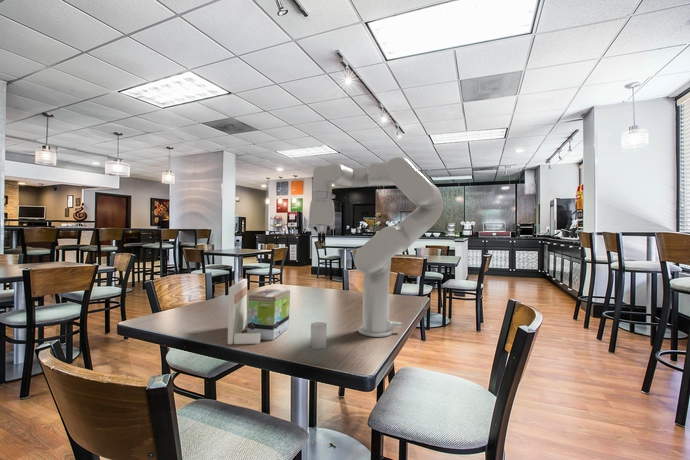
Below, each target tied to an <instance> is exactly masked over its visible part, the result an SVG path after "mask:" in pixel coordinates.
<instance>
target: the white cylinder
mask: <svg viewBox="0 0 690 460" xmlns="http://www.w3.org/2000/svg"><path fill="white" fill-rule="evenodd" d="M310 348H311V349H315V350H322V349H325V348H327V323H326V322H321V321H318V322H317V321H316V322H315V321H314V322H312V323H311V324H310Z"/></svg>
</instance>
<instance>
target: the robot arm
mask: <svg viewBox="0 0 690 460" xmlns="http://www.w3.org/2000/svg"><path fill="white" fill-rule="evenodd" d="M312 175H313V176H312V200H310V204H309V213H308V216H309V217H308V222H309V223H308V226H307V227H308V228H309V229H312V230H314V231H315V232H316V233H317V242H319V244H324V242H326V233H328V231H329V230H333V229H336V225H335V220H336V219H335V218H336V217H335V202H334V201H333V199H336V194H334V193H332V192H333V191H332V189H333V187H332V185H333V184H337V185H340V186H343V187H366V186H367V187H371V186H395V187H396V188H397V189H398V190H399V191H400V192H402V194H403V195H405V197H407V199H408V200H409V201H410V202H412V203H413V204H414V205H416V208H415V209H414V210H413V211H411V213H409V214H407V216H406V217H405V218H403V219H402V220H401V221H400V222H399V223H397V224H396V225H388V226H385V227H384V228H381V229H380V230H379V231H377V233H375V234H374V235H373V236H372V237H371V238H370V239H369V240H367V241H366V242H365V243H364V244H363V245H362V246H361V247H360V248H359V249H358V250H357V251H356V253H355V255H354V258H353V260H354V261H353V262H354V263H353V264H354V266H355V268H356V269H357V271H358V272H360V273H362V274H363V280H362V281H363V283H362V286H363V287H362V325H360V326H359V327H358V329H357V331H358V333H359V334H361V335H363V336H366V337H374V338H383V337H388V336H391V335H392V334H393V333H394V330H393V329H394V328H397V329H398V328H399V329H400V328H401V329H402V328H403V327H402V326H403V323H402V321H396V320H392V321H391V320H390V317H389V316H390V314H389V313H390V275H391V268H392V267H391V265H392V258H393V257H394V256H396V255H397V254H401V253H403V252H405V251H407V250H408V249H409V248H410V247H411V246H412V245H413V244H414V243H415V242H416V241H418V240H419V239H420V238H421V237H422V236H423V235H424V234H425V233H427V231H429V230H430V229H431V228H432V227H433V226H435V224H436V223H437V222H438V220H439V219H440V217H441V215H442V213H443V210H444V209H443V208H444V200H443V195H442V193H441V190H440V189H439V188H438V187H437V186H436V185H435V184H434V183H432V182H430V181H429V180H428V179H427V178H426V177H425V176H424V175H423V174H422V173H421V172H420V171H419V170H418V169H417V168H416V166H415V165H414V164H413V163H412V162H411V161H410V160H409V159H408V158H405V157H403V156H395V157H393V158H390V160H389V161H373V162H370V164H369V165H368V166H365V167H348V166H346V165H344V164H341V163H338V162H334V163H330V164H327V165H317V166H315V167H313V170H312ZM320 226H321V227H322V226H323V231H321V229H320V228H321V227H320Z"/></svg>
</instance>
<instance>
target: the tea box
mask: <svg viewBox="0 0 690 460" xmlns="http://www.w3.org/2000/svg"><path fill="white" fill-rule="evenodd" d="M290 301H291V290H289V289H276V288H275V289H274V288H273V289H272V288H270V289H269V288H266V289H262V290H260V291H258V292H255V293H251V294H249V295H248V305H247V318H248V327H247V329H246V331H247V332H246V333H260V340H264V341H265V340H267V341H274V340H275V339H276V338H277V337H279V336H281V334H283V333H284V332H285V331H287V330H288V329H290V328H289V327H290V306H291V305H290V303H291V302H290Z"/></svg>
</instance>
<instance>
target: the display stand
mask: <svg viewBox="0 0 690 460" xmlns="http://www.w3.org/2000/svg"><path fill="white" fill-rule="evenodd" d="M227 302H228V306H227V308H228V309H227V310H228V314H227V345H233V344H234V345H246V344H247V345H248V344H249V345H252V344H253V345H254V344H255V345H258V344H261V339H260V333H247V332H243V331H244V330H245V328H246V327H247V328H248V304H247V303H248V278H242V279H241V280H239V281H238V282H236V283H234V284H232V285H231V286H229V287H228V301H227Z"/></svg>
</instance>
